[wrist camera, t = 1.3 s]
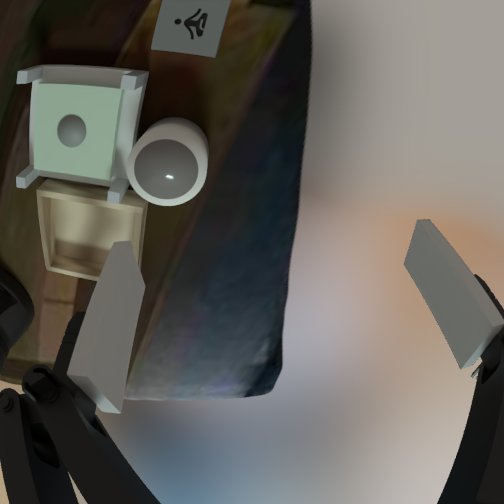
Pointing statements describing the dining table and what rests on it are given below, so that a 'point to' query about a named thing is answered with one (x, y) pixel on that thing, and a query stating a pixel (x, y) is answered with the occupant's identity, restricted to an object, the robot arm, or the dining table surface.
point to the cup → (169, 162)
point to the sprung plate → (77, 128)
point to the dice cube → (191, 26)
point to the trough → (86, 225)
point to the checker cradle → (128, 122)
